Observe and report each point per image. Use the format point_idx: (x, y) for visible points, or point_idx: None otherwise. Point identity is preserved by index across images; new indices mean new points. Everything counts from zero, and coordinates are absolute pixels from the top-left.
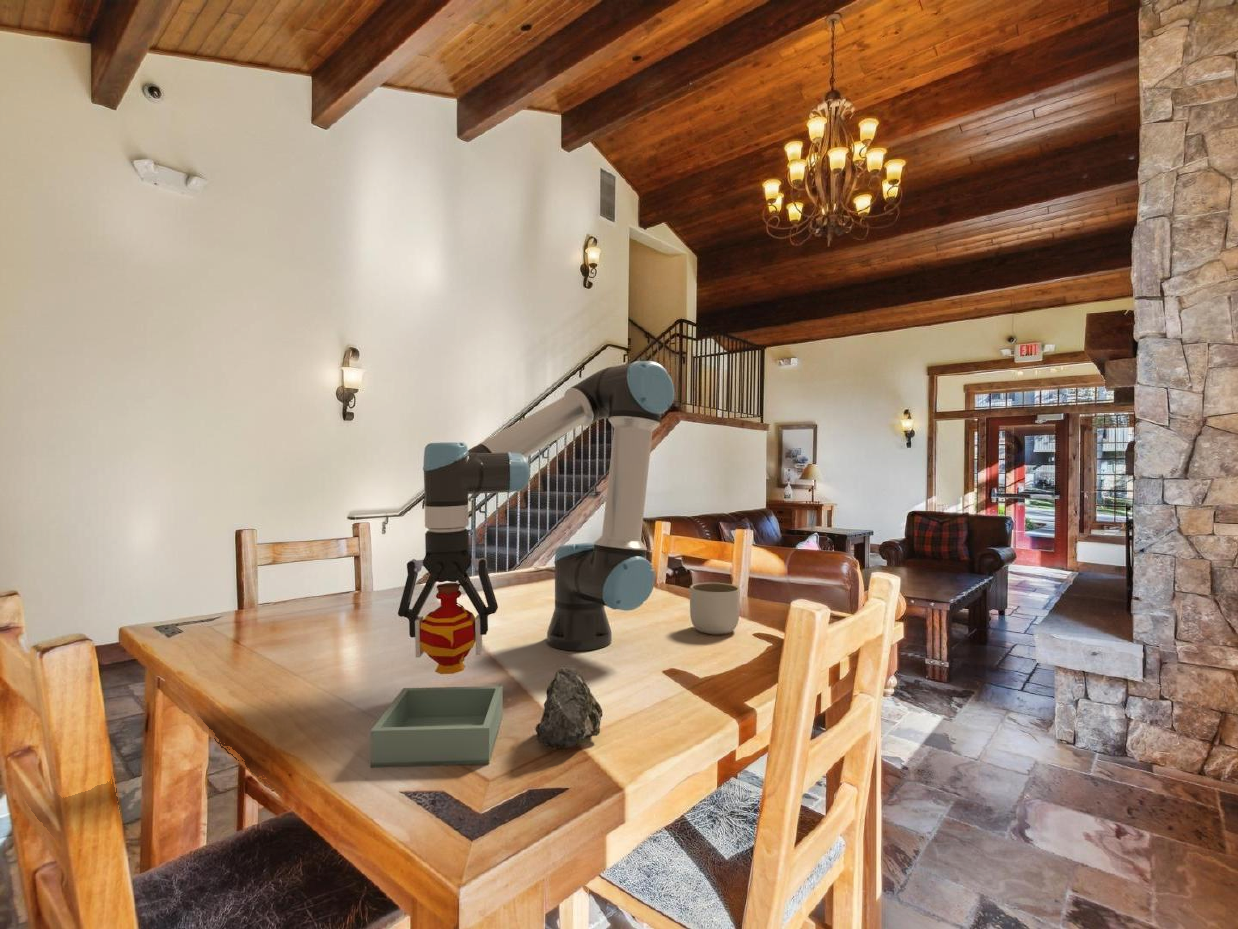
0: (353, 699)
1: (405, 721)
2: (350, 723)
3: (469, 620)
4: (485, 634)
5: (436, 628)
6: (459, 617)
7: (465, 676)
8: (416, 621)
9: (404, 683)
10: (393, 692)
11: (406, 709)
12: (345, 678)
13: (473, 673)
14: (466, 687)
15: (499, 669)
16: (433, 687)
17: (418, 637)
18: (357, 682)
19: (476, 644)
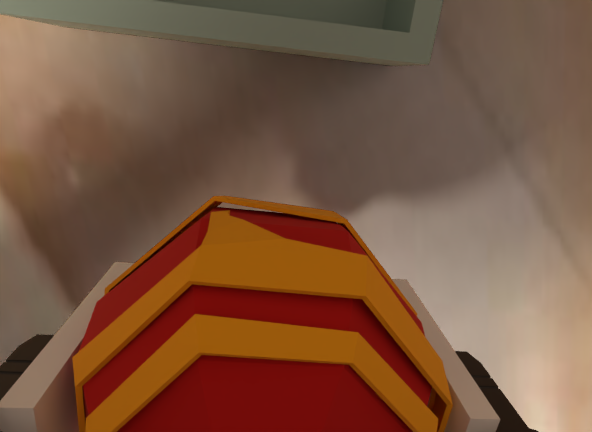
0: (536, 241)
1: (384, 4)
2: (546, 58)
3: (83, 390)
4: (37, 335)
5: (332, 277)
6: (142, 384)
7: None
8: (487, 412)
9: None
10: (430, 276)
11: (392, 20)
12: (554, 381)
13: None
14: (157, 22)
15: None
16: (304, 49)
17: (428, 336)
18: (525, 353)
19: None
